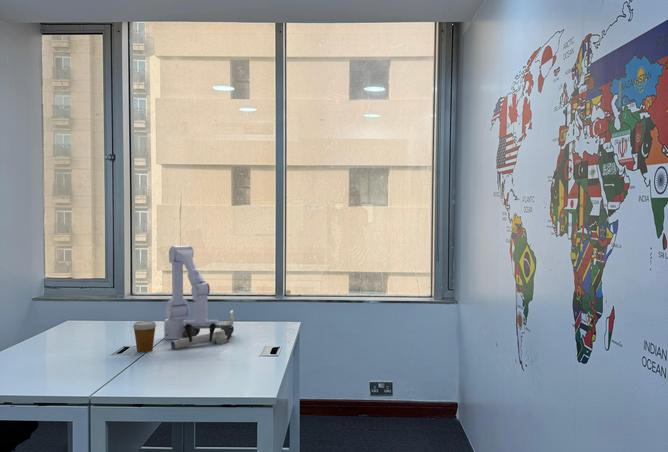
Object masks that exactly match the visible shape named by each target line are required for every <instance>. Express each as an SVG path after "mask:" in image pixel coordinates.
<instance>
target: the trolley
mask: <svg viewBox="0 0 668 452" xmlns="http://www.w3.org/2000/svg"><path fill="white" fill-rule="evenodd" d="M196 324H197V323H196ZM202 324H205V323H202ZM209 326H210V325H192V337H193V336H198V335H200V334H199V333H200V332H201V329H204V330H205V329H210V328H209ZM183 329H185V326H184V325H183ZM215 329H219V330H224V332H225V335H227V341H229V340H230V339H231V338H232V334H233V333H234V330H235V327H234V310H230V311H229V321H218V325H216V328H215ZM183 338H188V334H187V332H186V330H185V331H184V332H183Z"/></svg>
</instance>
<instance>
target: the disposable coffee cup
mask: <svg viewBox="0 0 668 452" xmlns="http://www.w3.org/2000/svg"><path fill="white" fill-rule="evenodd" d="M156 327H157V324H156V321H154V320H140V321H136V322H134V323H133V325H132V328H133V330H134V338H135V339H134V340H135V344H136V352H137V353H149V352H152V351H153V349H154V341H155V333H156Z"/></svg>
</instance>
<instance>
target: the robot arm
mask: <svg viewBox="0 0 668 452" xmlns="http://www.w3.org/2000/svg"><path fill="white" fill-rule="evenodd" d="M194 250H195V249H194V248H193V246H192V245H175V246H174V245H171V246H170V248H169V250H168V262H169V264H171V274H172V275H171V279H172V282H171V286H172V287H171V290H172V291H171V293H172V296H171V298H170V299H169V300H168V301H167V302H166V303H165V304H166V305H165V306H166V307H165V317H166V319H165V320H164V325H163V328H164V329H163V330H164V331H163V335H164V337H163V340H178V339H183V332H184V331H185V330H186V332H187V334H188V337H189V341H190V342H192V325H210V326H209V328H208V329H209V333H210V340H209V343H210V342H213V340H212V336H213V333H214V332H215V331H216V330H215V329H217V328H216V325H218V322H219V320H218V319H208V296H209V295H210V292H211V290H210V289H211V288H210V284H209V282H208V281H206V280H205V279H204V278H203V275H202V274H201V271H200V270H199V269H197V267H196V265H195V262H194V253H195V252H194ZM184 267H185V269H186V270H187V278H188V281H189V283H190V287H191V289H190V291H191V292H190V293H191V295H192V296H191V297H192V301H193V319H188V320H187V317H189V314H190V306H189V301H188V300H186V299H185V298H184ZM196 323H197V324H196ZM202 323H205V324H202ZM183 325H184V326H185V329H183Z"/></svg>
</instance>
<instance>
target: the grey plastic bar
mask: <svg viewBox="0 0 668 452" xmlns="http://www.w3.org/2000/svg"><path fill="white" fill-rule="evenodd" d="M212 341H214V344H216V345H222V344H225V343H227V342H228V340H227V335H225V332H224V330H220V329H217V330H214V333H213V336H212ZM206 342H210V332H209V333H204V334H198V335H197V336H193V337H192V342H190V341H189V337H188V338H183V339H174V340H172V341H171V342H170V346H171V349H172V350H178V349H183V348H188V347H191V346H195V345H198V344H201V343H206Z"/></svg>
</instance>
